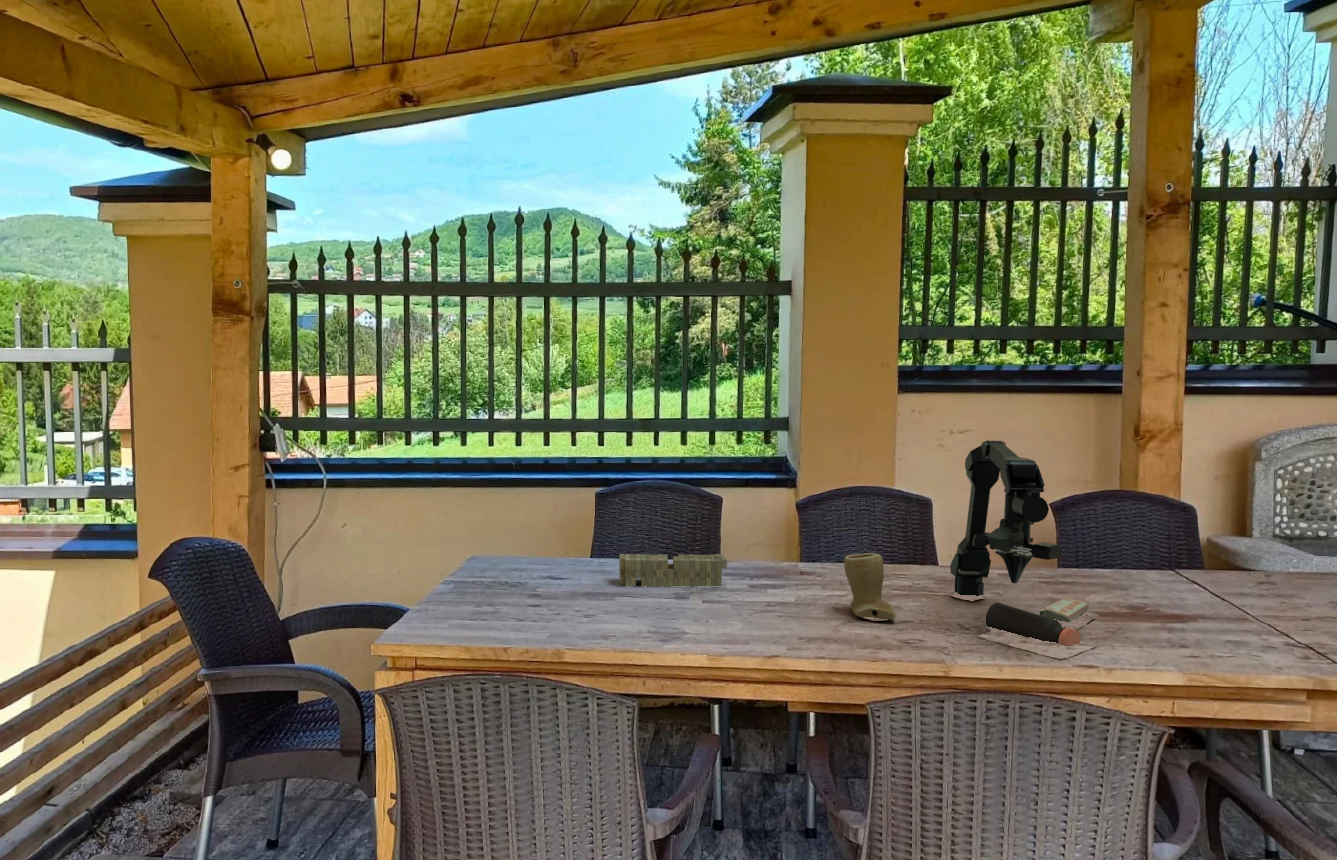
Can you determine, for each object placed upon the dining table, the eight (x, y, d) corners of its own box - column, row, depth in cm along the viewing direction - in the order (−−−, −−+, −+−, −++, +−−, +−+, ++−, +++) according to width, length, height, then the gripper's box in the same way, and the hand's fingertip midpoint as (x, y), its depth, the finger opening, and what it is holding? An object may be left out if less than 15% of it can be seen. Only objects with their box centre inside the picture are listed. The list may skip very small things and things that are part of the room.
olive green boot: (840, 605, 231) (842, 547, 229) (888, 608, 229) (891, 549, 228) (845, 622, 216) (847, 559, 214) (896, 625, 214) (899, 562, 213)
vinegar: (992, 636, 211) (1072, 663, 195) (980, 619, 208) (1061, 645, 192) (1006, 613, 214) (1086, 638, 197) (995, 596, 210) (1076, 620, 194)
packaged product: (1055, 594, 229) (1097, 601, 223) (1054, 613, 230) (1095, 621, 223) (1028, 607, 216) (1072, 615, 209) (1027, 627, 216) (1071, 636, 210)
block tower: (619, 591, 245) (727, 588, 246) (618, 560, 244) (727, 558, 245) (619, 583, 252) (724, 581, 253) (619, 553, 252) (724, 551, 253)
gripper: (960, 512, 208) (957, 579, 209) (1037, 524, 193) (1033, 596, 195) (988, 508, 215) (985, 573, 216) (1064, 519, 200) (1060, 589, 201)
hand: (1014, 583), depth 207 cm, fingers closed
